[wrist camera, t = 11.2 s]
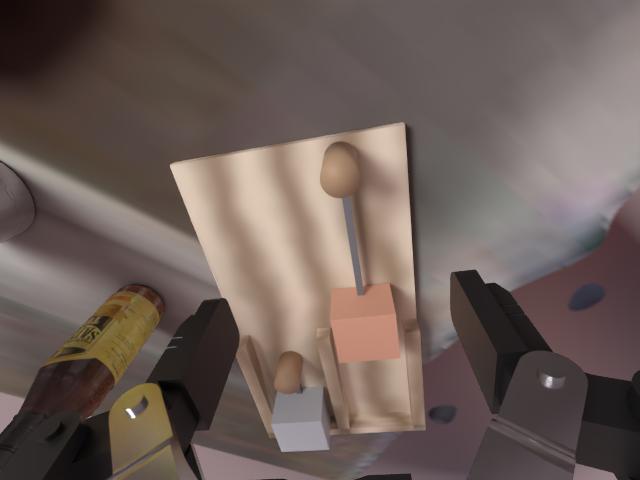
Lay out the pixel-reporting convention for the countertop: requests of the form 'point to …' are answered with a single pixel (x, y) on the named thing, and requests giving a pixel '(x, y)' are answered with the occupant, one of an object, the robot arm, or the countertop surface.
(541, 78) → the countertop surface
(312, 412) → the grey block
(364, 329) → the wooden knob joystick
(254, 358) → the wooden backboard
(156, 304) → the sauce bottle
